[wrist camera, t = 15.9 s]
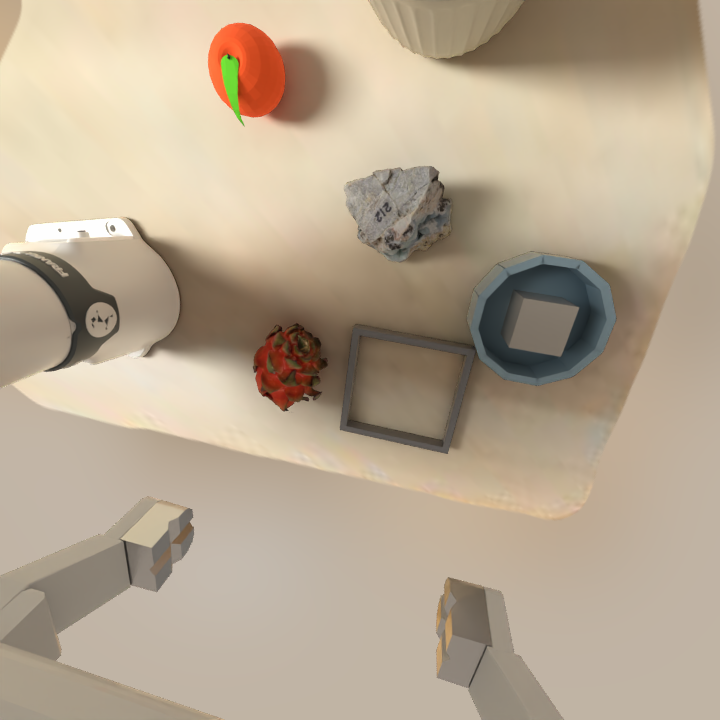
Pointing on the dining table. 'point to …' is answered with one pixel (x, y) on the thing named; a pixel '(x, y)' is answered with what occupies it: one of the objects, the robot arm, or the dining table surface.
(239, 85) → the clementine
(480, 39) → the canister
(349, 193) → the mineral specimen
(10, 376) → the robot arm
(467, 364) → the tray
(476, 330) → the bowl
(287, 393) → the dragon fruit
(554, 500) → the dining table surface
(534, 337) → the pebble block
